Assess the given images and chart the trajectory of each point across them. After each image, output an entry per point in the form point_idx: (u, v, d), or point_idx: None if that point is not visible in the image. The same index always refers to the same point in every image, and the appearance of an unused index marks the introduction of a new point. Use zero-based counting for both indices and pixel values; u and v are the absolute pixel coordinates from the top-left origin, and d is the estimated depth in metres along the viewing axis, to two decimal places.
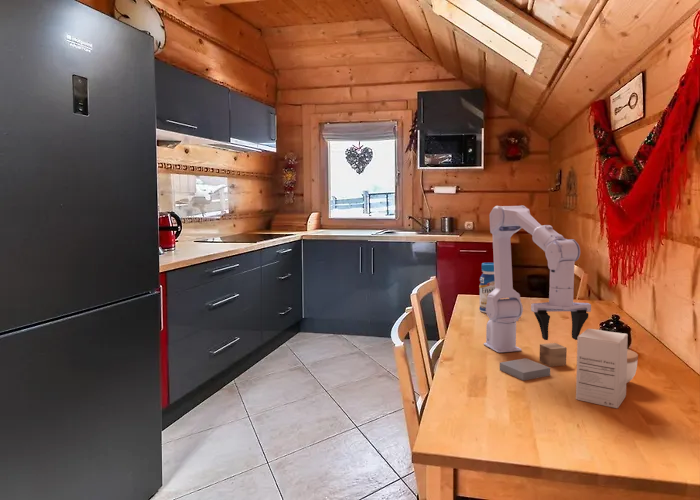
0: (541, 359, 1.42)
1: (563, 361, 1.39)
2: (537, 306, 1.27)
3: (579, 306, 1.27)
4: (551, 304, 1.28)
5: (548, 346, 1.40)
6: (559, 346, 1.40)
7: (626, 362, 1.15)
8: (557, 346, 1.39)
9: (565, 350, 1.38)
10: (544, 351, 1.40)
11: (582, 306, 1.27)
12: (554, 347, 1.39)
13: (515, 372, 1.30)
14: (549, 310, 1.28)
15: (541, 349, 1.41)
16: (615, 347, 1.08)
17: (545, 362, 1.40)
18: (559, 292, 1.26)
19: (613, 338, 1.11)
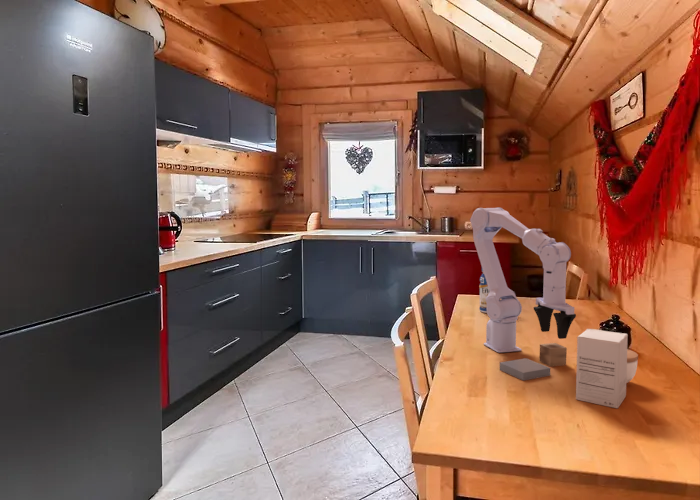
0: (541, 359, 1.42)
1: (563, 361, 1.39)
2: (537, 299, 1.45)
3: (557, 306, 1.35)
4: None
5: (548, 346, 1.40)
6: (559, 346, 1.40)
7: (626, 362, 1.15)
8: (557, 346, 1.39)
9: (565, 350, 1.38)
10: (544, 351, 1.40)
11: (560, 307, 1.34)
12: (554, 347, 1.39)
13: (515, 372, 1.30)
14: (546, 306, 1.42)
15: (541, 349, 1.41)
16: (615, 347, 1.08)
17: (545, 362, 1.40)
18: (543, 290, 1.40)
19: (613, 338, 1.11)
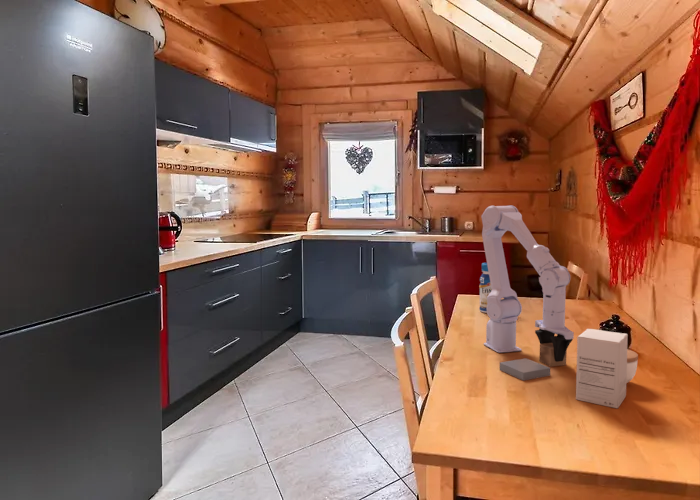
0: (541, 359, 1.42)
1: (563, 361, 1.39)
2: (536, 322, 1.46)
3: (556, 330, 1.36)
4: None
5: (548, 346, 1.40)
6: None
7: (626, 362, 1.15)
8: None
9: None
10: (544, 351, 1.40)
11: (559, 331, 1.35)
12: None
13: (515, 372, 1.30)
14: None
15: (541, 349, 1.41)
16: (615, 347, 1.08)
17: (545, 362, 1.40)
18: None
19: (613, 338, 1.11)
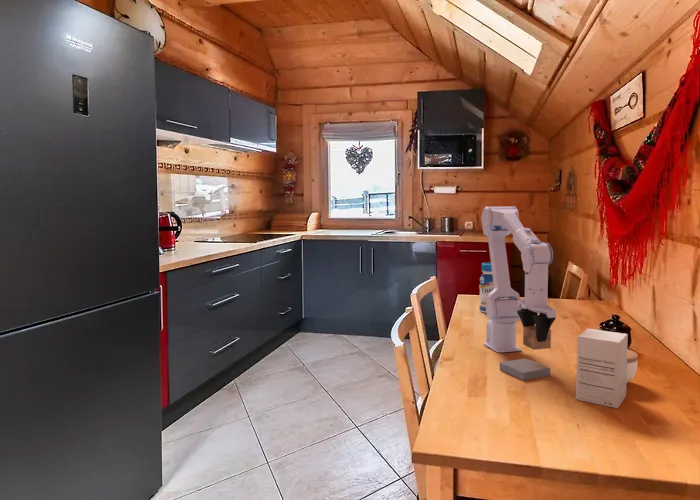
0: (525, 342, 1.36)
1: (547, 344, 1.33)
2: (518, 302, 1.40)
3: (538, 309, 1.30)
4: None
5: (532, 328, 1.34)
6: None
7: (626, 362, 1.15)
8: None
9: (549, 332, 1.33)
10: (528, 334, 1.34)
11: (542, 310, 1.29)
12: None
13: (515, 372, 1.30)
14: (528, 308, 1.37)
15: (525, 332, 1.36)
16: (615, 347, 1.08)
17: (529, 345, 1.34)
18: None
19: (613, 338, 1.11)
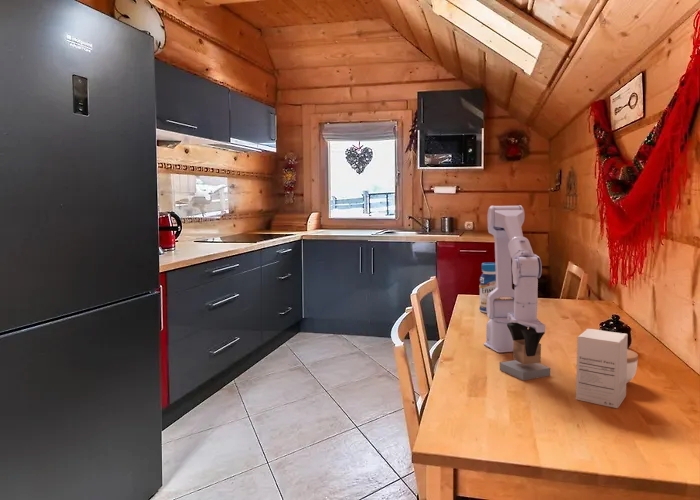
0: (514, 356, 1.34)
1: (537, 358, 1.31)
2: (508, 315, 1.38)
3: (527, 323, 1.28)
4: None
5: (522, 342, 1.32)
6: None
7: (626, 362, 1.15)
8: None
9: (539, 346, 1.31)
10: (518, 348, 1.32)
11: (531, 324, 1.27)
12: None
13: (515, 372, 1.30)
14: None
15: (514, 345, 1.34)
16: (615, 347, 1.08)
17: (518, 359, 1.32)
18: (514, 305, 1.32)
19: (613, 338, 1.11)
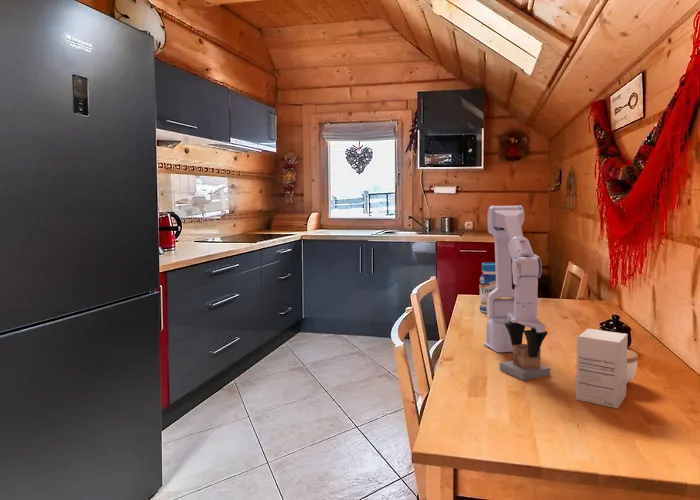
0: (514, 361, 1.34)
1: (537, 363, 1.31)
2: (508, 315, 1.38)
3: (527, 323, 1.28)
4: None
5: (521, 347, 1.32)
6: None
7: (626, 362, 1.15)
8: None
9: (539, 351, 1.31)
10: (517, 353, 1.33)
11: (531, 324, 1.27)
12: (527, 348, 1.31)
13: (515, 372, 1.30)
14: None
15: (514, 350, 1.34)
16: (615, 347, 1.08)
17: (518, 364, 1.32)
18: (514, 305, 1.32)
19: (613, 338, 1.11)
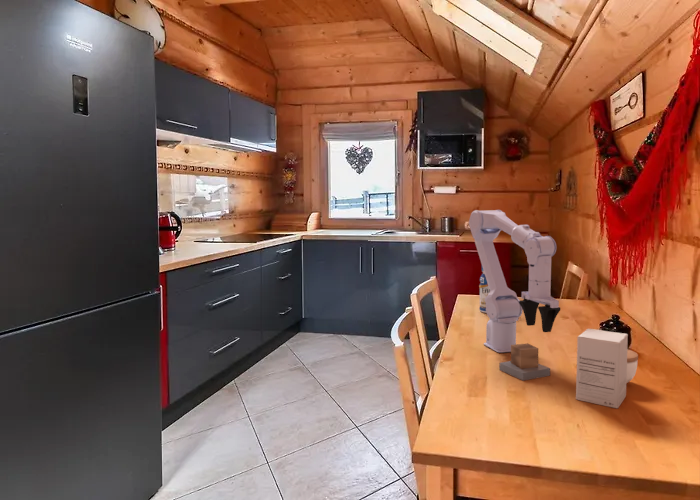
0: (512, 361, 1.34)
1: (535, 363, 1.31)
2: (523, 293, 1.45)
3: (542, 300, 1.35)
4: None
5: (519, 347, 1.32)
6: (531, 347, 1.32)
7: (626, 362, 1.15)
8: (528, 347, 1.32)
9: (537, 350, 1.31)
10: (515, 352, 1.33)
11: (545, 300, 1.34)
12: (525, 348, 1.31)
13: (515, 372, 1.30)
14: (532, 299, 1.42)
15: (512, 350, 1.34)
16: (615, 347, 1.08)
17: (516, 364, 1.32)
18: None
19: (613, 338, 1.11)
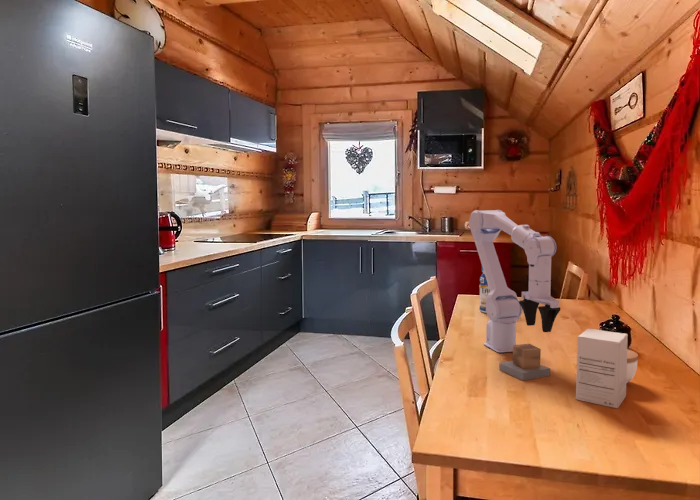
0: (514, 361, 1.34)
1: (537, 363, 1.31)
2: (523, 293, 1.45)
3: (542, 300, 1.35)
4: None
5: (521, 347, 1.32)
6: (533, 347, 1.32)
7: (626, 362, 1.15)
8: (530, 348, 1.32)
9: (539, 351, 1.31)
10: (517, 353, 1.32)
11: (545, 300, 1.34)
12: (527, 348, 1.31)
13: (515, 372, 1.30)
14: (532, 299, 1.42)
15: (514, 350, 1.34)
16: (615, 347, 1.08)
17: (518, 364, 1.32)
18: None
19: (613, 338, 1.11)
